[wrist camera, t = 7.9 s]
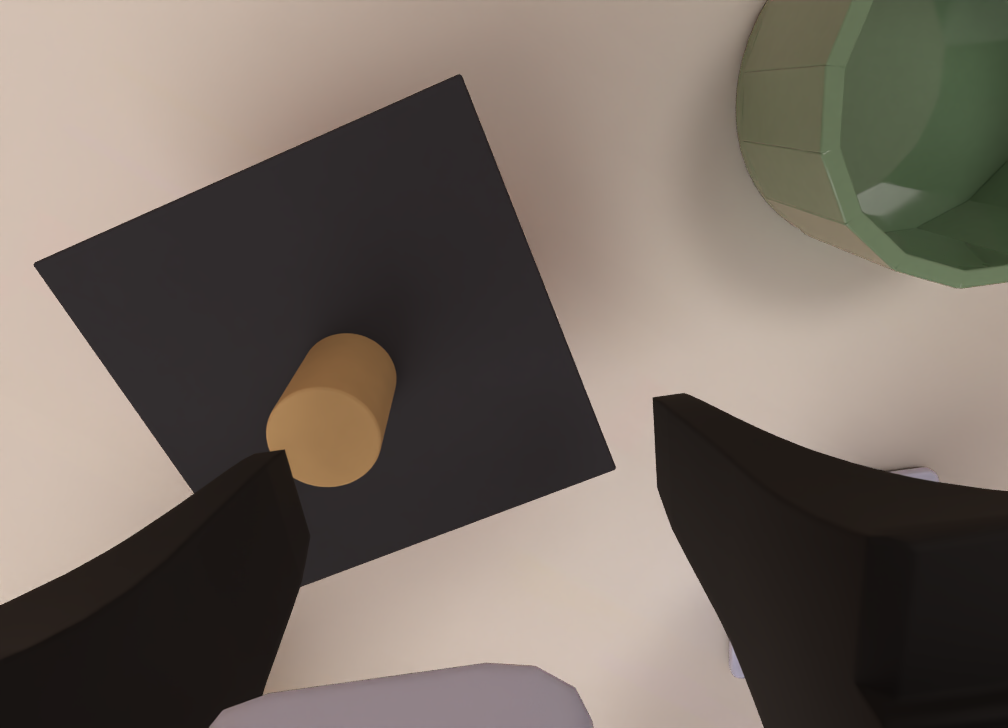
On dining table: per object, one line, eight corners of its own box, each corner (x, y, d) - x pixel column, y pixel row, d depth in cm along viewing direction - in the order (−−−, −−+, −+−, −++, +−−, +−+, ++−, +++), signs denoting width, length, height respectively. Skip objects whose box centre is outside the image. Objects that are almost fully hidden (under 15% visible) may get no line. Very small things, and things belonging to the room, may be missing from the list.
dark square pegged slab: (612, 458, 19) (648, 546, 15) (273, 585, 20) (230, 696, 16) (461, 74, 15) (459, 66, 11) (46, 258, 16) (-80, 306, 12)
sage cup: (1020, 223, 22) (1181, 259, 17) (733, 261, 22) (811, 309, 17) (1081, -125, 18) (1309, -208, 13) (736, -79, 18) (837, -144, 13)
